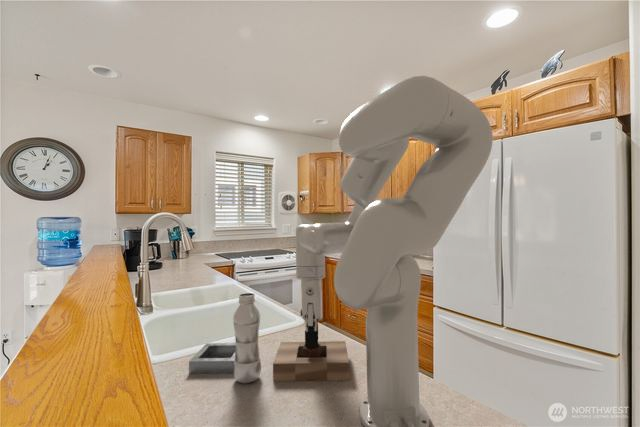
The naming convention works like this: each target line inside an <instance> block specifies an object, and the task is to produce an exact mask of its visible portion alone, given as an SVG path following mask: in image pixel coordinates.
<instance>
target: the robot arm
mask: <svg viewBox="0 0 640 427" xmlns="http://www.w3.org/2000/svg"><path fill="white" fill-rule="evenodd" d="M339 130H340V131H339V134H338V145H339V148H340V151H341V152H342V153H343V154H344V155H346V156H348V157H350V158H351V161H350V162H349V165H348V167H346V170H345V172H344V174H343V175H342V176H341V179H340V182H339V187H340V189H341V191H342V192H343V193H344V194H345V196H347V197H348V199H350V200H351V201H353V202H354V204H353V208H352V210H351V212H350V214H349V216H348V217H347V219H346V221H345V222H321V223H315V224H314V223H313V224H311V223H310V224H309V223H307V224H306V223H304V224H299V225H297V226H296V228H295V269H296V270H295V272H296V275H295V276H296V279H298V280H300V298H301V299H300V300H301V309H302V316H301V318H302V320H304V322H305V321H306V323H305V324H306V327H305V330H304V342H305V347H307V348H309V347H318V342H319V329H318V330H317V319H318V320H319V321H321V320H322V319H323V284H322V283H323V282H322V279H324V278H326V256H327V255H329V256H330V255H335V254H340V256H339V258H338V261H337V264H336V265H335V266H336V267H335V271H334V276H333V284H334V290H335V293H336V296H337V297H338V299H339V300H340V301H341V302H342V303H343V304H344V305H345V306H347V307H349V308H351V309H353V310H366V309H367V312H366V317H365V345H366V346H365V348H366V349H365V351H366V385H367V386H366V389H367V390H366V391H367V393H366V394H367V396H366V397H365V398H364V399H363V400H362V401H361V402H360V406H359V418H360V422H361V423H362V425H363V427H430V417H429V414H428V411H427V410H426V408H425V407H424V406H423V405H422V404H421V403H420V375H419V374H420V372H419V346H418V345H419V342H418V339H419V335H418V334H419V332H418V331H419V329H418V311H419V310H418V309H419V301H420V300H419V299H420V293H421V287H422V286H421V285H422V273H421V270H420V269H421V268H420V266H419V264H418V262H417V260H416V259H415V258H414V255H420V254H424V253H427V252H429V251H431V250H433V249H434V248H435V247H436V246H437V244H439V242H440V241H441V238H442V237H443V235H444V233H445V232H446V230H447V228H448V227H449V225H450V224H451V221H452V220H453V218H454V217H455V215H456V214H457V212H458V210H459V208H460V207H461V205H462V203H463V202H464V199H465V198H466V197H467V195H468V193H469V191H470V190H471V188H472V187H473V185H474V183H475V182H476V181H477V178H478V177H479V176H480V174H481V172H482V171H483V169H484V167H485V166H486V164H487V162H488V160H489V157H490V155H491V151H492V149H493V148H492V147H493V141H494V140H493V138H494V136H493V129H492V126H491V123H490V121H489V119H488V117H487V116H486V114H485V113H484V112H483V111H482V110H481V108H480V107H478V106H477V105H476V104H475V103H474V102H473V101H472V100H470V99H469V98H468V97H466V96H464V94H461V93H460V92H459V91H456V89H455V90H454V89H453V88H452V87H449V86H448V85H446V84H444V83H443V82H442V81H440V80H438V79H436V78H435V77H434V78H433V77H431V76H427V75H419V76H417V75H416V76H412V77H410V78H406V79H404V80H402V81H400V82H398V83H397V84H395V85H393V86H391V87H390V88H387V90H385V91H383V92H382V93H380V94H378V95H377V96H375V97H373V98H372V99H370V100H368V101H367V102H365V103H364V104H362V105H361V106H358V107H357V108H356V109H355V110H354V111H353V112H351V113H350V115H349V116H348V117H347V118H346V119H345V120H344V122H343V123H342V125H341V128H340V129H339ZM410 138H411V139H412V140H413V139H414V140H416V141H420V142H423V143H427V144H429V145H432V146H434V148H435V150H434V151H433V153H432V154H431V156H430V157H428V158H427V159H426V160H425V161H424V163H422V165H420V167H419V169H418V170H417V172H416V173H415V175H414V177H413V178H412V182H411V184H410V185H409V187H408V188H407V190H406V192H405V193H404V195H403V196H402V197H401V198H399V197H398V198H397V197H384V198H381V199H377V198H378V196H379V194H380V193H381V191H382V190H383V188H384V187H385V185H386V183H387V182H388V180H389V179H390V177H391V176H392V174H393V172H394V171H395V169H396V168H397V166H398V164H399V163H400V161H401V160H402V159H403V156H404V155H405V154H406V152H407V150H408V147H409V144H410ZM376 199H377V200H376ZM307 316H308V318H307ZM313 316H315V318H313ZM313 321H314V323H313ZM314 327H315V328H314Z"/></svg>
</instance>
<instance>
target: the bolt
mask: <svg viewBox="0 0 640 427" xmlns="http://www.w3.org/2000/svg"><path fill="white" fill-rule="evenodd" d="M300 316H301V317H302V308H301V309H300ZM307 318H308V316H307ZM313 318H315V316H313ZM304 322H305V328H306V321H305V320H304ZM318 322H319V319H317V330H318V331H319V324H318ZM313 323H314V321H313ZM314 328H315V327H314ZM320 353H321V345H320V344H318V347H309V348H307V347H305V345H304V346H303V354H304V355H305V356H306V358H318V356H319V355H320Z"/></svg>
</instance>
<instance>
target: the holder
mask: <svg viewBox="0 0 640 427" xmlns="http://www.w3.org/2000/svg"><path fill="white" fill-rule="evenodd" d="M235 351H236V342H225V343H224V342H223V343H221V342H219V343H217V342H215V343H212V342H211V343H205V345H204V346H202V347H201V349H200V350H199V351H197V353H195V355H194V356H192V357H191V358H190V360H189V361H188V374H190V375H191V374H192V375H193V374H200V375H201V374H234V372H233V368H234V361H235ZM211 357H212V358H211Z"/></svg>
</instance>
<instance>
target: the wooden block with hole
mask: <svg viewBox="0 0 640 427" xmlns="http://www.w3.org/2000/svg"><path fill="white" fill-rule="evenodd" d="M318 344H320V345H321V353H320V355H319V356H318V358H306V356H305V355H304V354H303V346H304V345H305V341H280V344H279V345H278V349H277V351H276V355H275V358H274V360H273V363H272V379H273V380H272V381H273V382H289V381H291V382H292V381H293V382H297V381H298V382H300V381H303V382H304V381H305V382H309V381H311V382H312V381H350V380H351V378H350V359H349V354H348V349H347V344H346V341H345V340H343V341H342V340H341V341H340V340H339V341H337V340H335V341H318Z"/></svg>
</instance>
